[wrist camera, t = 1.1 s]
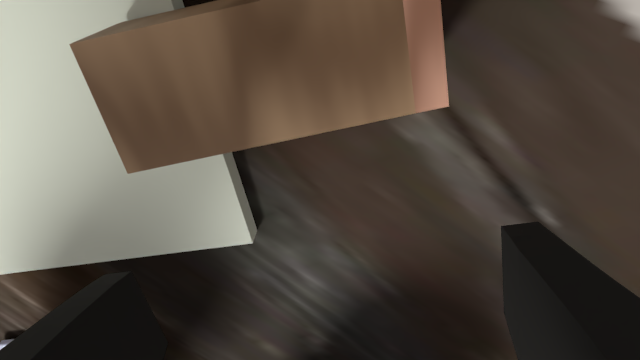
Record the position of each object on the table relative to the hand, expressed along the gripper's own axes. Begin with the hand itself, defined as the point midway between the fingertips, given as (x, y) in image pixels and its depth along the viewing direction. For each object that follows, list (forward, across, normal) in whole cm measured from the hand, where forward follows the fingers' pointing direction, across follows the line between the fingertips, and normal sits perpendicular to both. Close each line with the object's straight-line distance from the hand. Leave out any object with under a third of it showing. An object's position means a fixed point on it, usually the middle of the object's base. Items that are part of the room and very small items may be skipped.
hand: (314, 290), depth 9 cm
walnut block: (+7, +6, -3) cm, 10 cm away
